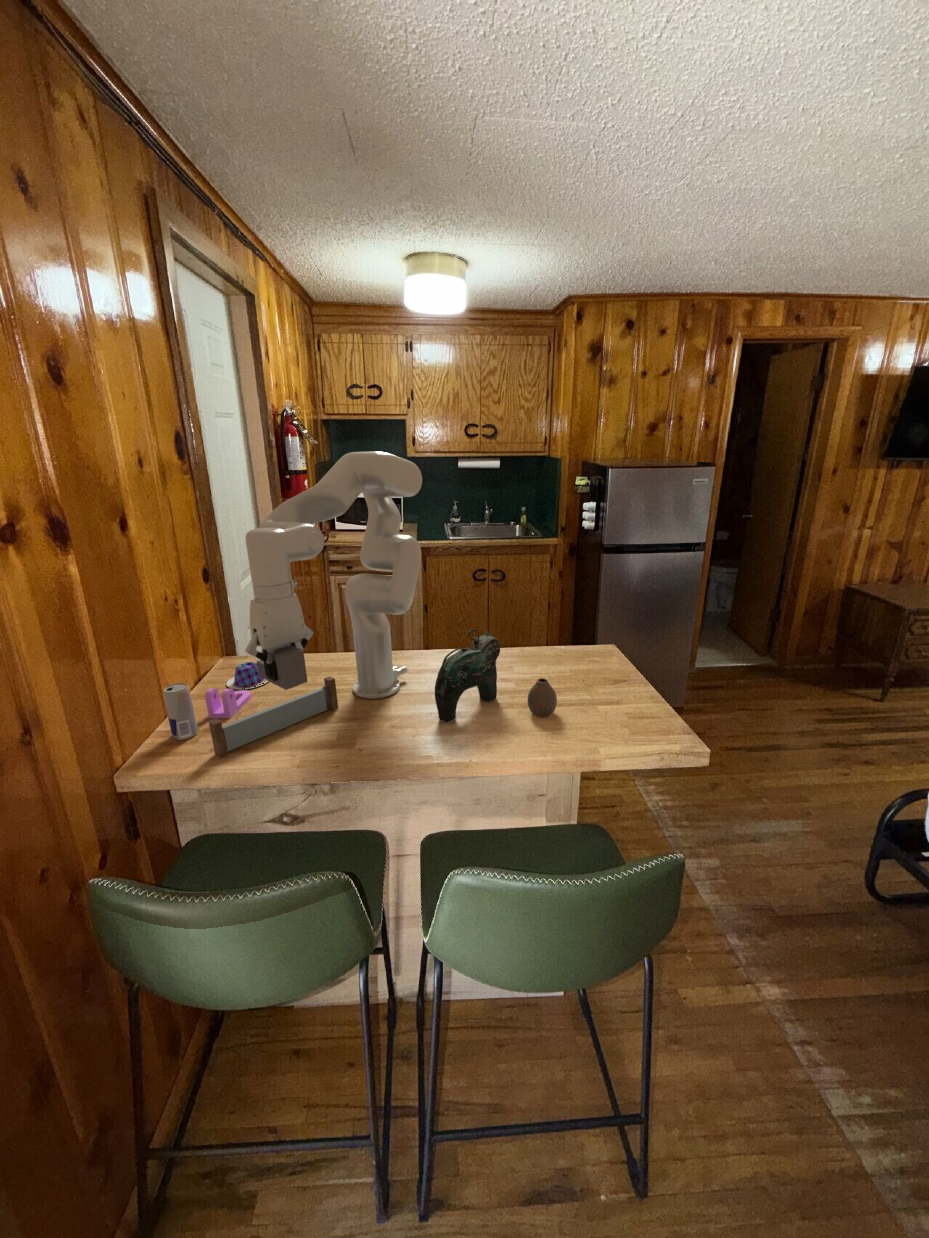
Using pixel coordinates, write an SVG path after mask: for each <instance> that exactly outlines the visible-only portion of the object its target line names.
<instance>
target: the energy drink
mask: <svg viewBox="0 0 929 1238" xmlns="http://www.w3.org/2000/svg"><path fill="white" fill-rule="evenodd" d="M162 696H163V697H162V698H163V700H164V706H165V709H166V715H167V718H168V719H167V720H168V724H169V727H170V732H171V737H172V738H173V739H174V740H176V741H185V740H189V739H191V738H193V737H195V736H196V735H197V733H198V732H199V728H198V725H197V719H196V714H195V709H194V704H193V699H192V695H191V690H190V686H189V685H188V684H187V683H186V682H185V683H184V682H177V683H172V684H169V685H167V686H166V687H164V688H163V692H162Z"/></svg>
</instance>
